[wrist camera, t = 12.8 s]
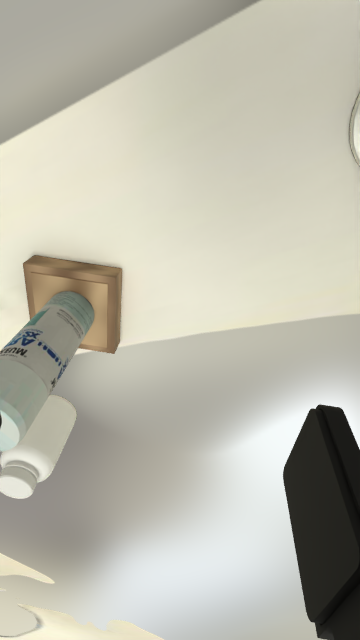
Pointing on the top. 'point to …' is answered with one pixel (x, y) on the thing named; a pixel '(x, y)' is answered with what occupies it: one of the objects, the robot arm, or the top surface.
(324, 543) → the robot arm
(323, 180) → the top surface
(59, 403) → the pill bottle
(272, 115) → the top surface
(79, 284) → the square brown tray
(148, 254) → the top surface
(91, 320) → the pale blue bottle
